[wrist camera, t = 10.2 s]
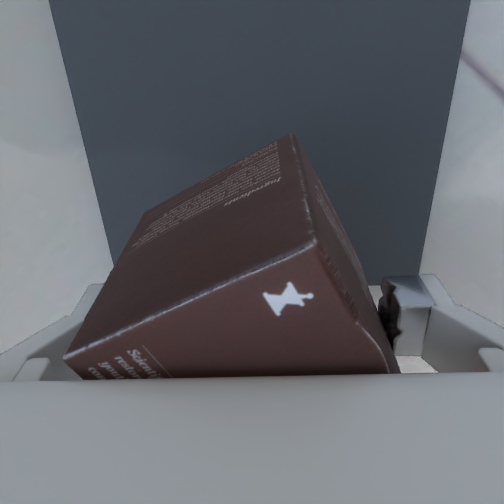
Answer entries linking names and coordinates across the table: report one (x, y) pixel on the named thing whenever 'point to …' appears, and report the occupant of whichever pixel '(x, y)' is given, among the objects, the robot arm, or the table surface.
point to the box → (237, 284)
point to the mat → (268, 103)
